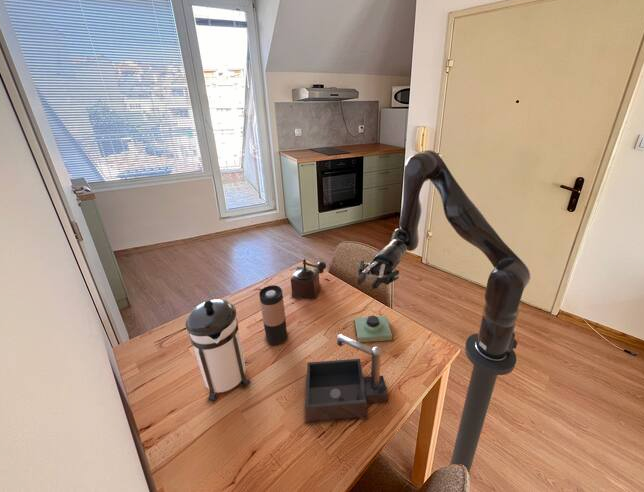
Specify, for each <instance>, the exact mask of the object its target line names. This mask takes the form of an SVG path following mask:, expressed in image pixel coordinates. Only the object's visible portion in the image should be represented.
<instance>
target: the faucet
mask: <svg viewBox="0 0 644 492" xmlns="http://www.w3.org/2000/svg"><path fill="white" fill-rule="evenodd" d="M344 344H345V345H348V346H350V347H353V348H355V349H356V350H359V351H361V352H363V353H365V354H367V355H370V356H371V365H370V366H371V368H370V376H371V386H372V387H373V388H378V387H379V377H380V376H381V375H380V374H381V358H382V357H381V356H382V350H381V348H380V347H379V346H373V347H372V346H368V345H367V344H364V343H363V342H358V340H355V339H352V338H350V337H349V336H346V335H344V334H342V333H339V334H338V335H337V336H336V345H337V346H338V347H342V346H344Z"/></svg>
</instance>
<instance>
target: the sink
mask: <svg viewBox="0 0 644 492" xmlns="http://www.w3.org/2000/svg"><path fill="white" fill-rule="evenodd" d="M306 365H307V366H306V369H307V370H306V386H305V387H306V388H305V417H306V423H317V422H328V421H339V420H350V419H362V418H363V419H364V418H367V404H369V403H370V404H371V403H380V402H387V401H388V391H387V386H386V383H385V379H384V375H380V377H379V387H378V388H373V387H372V386H371V375H370V376H363V370H362V363H361V358H350V359H337V360H335V359H334V360H323V361H310V362H309V361H308V362H307V363H306Z"/></svg>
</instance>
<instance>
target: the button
mask: <svg viewBox="0 0 644 492" xmlns="http://www.w3.org/2000/svg"><path fill="white" fill-rule="evenodd" d="M376 316H377V315H369V317H368V316H367V317H368V322H367V323H368V325H369V326H370V327H376V326H378V323H379V319H378V318H377V317H376Z"/></svg>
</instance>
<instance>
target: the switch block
mask: <svg viewBox="0 0 644 492" xmlns="http://www.w3.org/2000/svg"><path fill="white" fill-rule="evenodd" d="M369 316H370V315H369ZM369 316H361V317H355V318H354V325H355V330H356V335H357V336H356V338H357V342H360V343H369V342H383V341H385V342H386V341H392V340H393V334H392V331H391V327H390V323H389V321H388V318H387V315H375V316H376V317H377V318H378V319H379V323H378V326H376V327H370V326H369V325H368V323H367V322H368V317H369Z"/></svg>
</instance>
